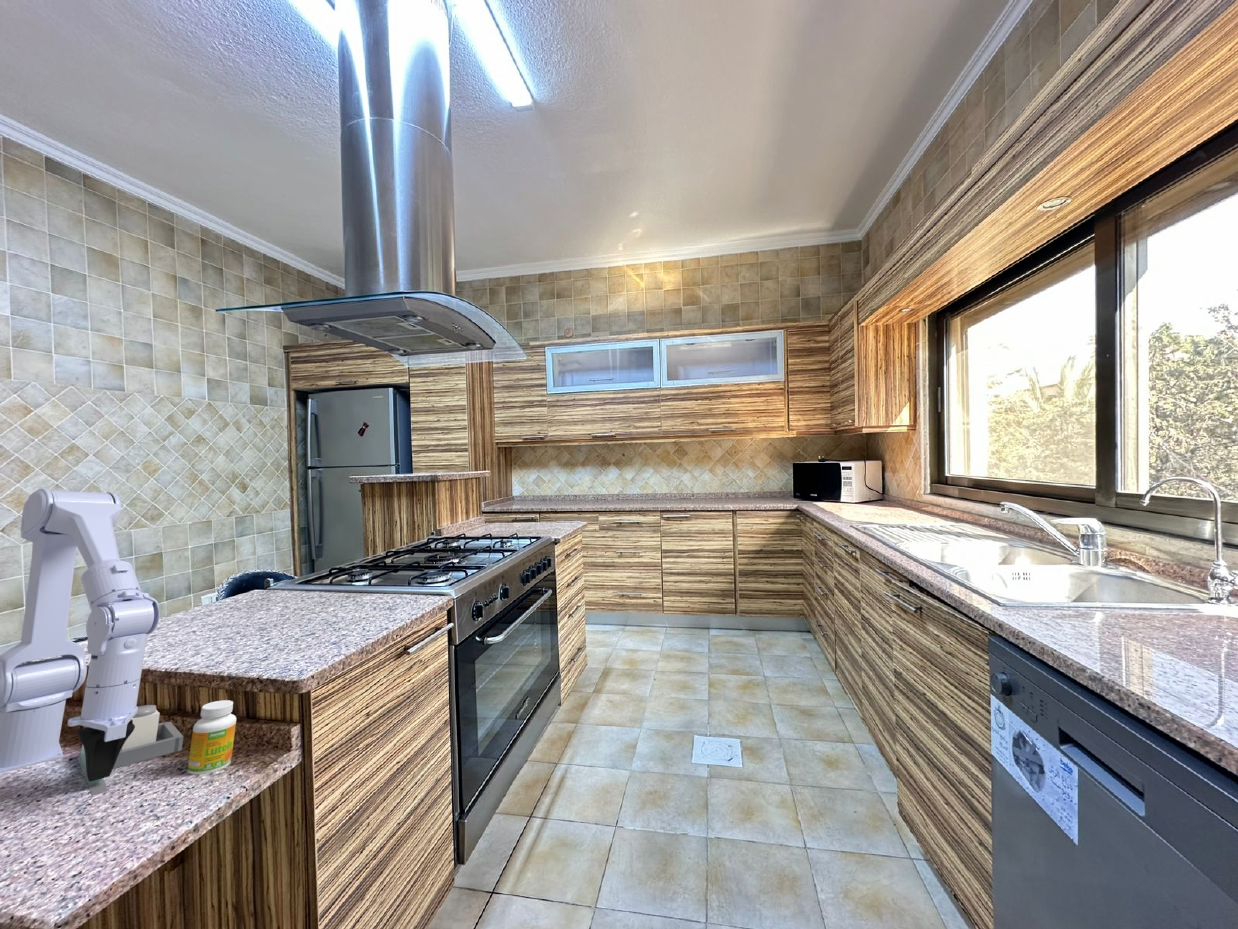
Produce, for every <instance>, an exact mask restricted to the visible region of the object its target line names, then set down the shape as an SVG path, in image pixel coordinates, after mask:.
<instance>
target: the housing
mask: <svg viewBox="0 0 1238 929" xmlns="http://www.w3.org/2000/svg"><path fill="white" fill-rule="evenodd" d="M183 743H184V735H183V734H182V733H181V732H180V731H179V729H177V728H176V726H175V725H174V724H173V723H172V722H171V721H170V722H167V721H163V722H158V729H157V736H156V742H152V743H148V744H144V745H140V746H136V747H132V748H128V749H124V750H121V751H120V753H119V755H118V757H117V760H116V762H115V765H114V767H113V770H115V769H119V768H122V767H126V766H130V765H134V764H138V763H140V762H144V761H145V762H146V761H149V760H152V759H156V758H159V757H162V756H166V755H170V754H174V753H177V752H182V750H183ZM77 761H78V763H79V765H80V768H81V771H82V773H83V776H84V778H85V779H84V780H85V781H86V784H87V786H88V788H89V791H90V794H91V796H92V797H93V796H96V795H99V794H102V793H103V794H104V793H107V792H109V788H108V786H107V784H106V782H105V780H104V779H105V778H102V781H101V782H100V783H96V784H93V785H91V782H89V780H88V777H87V773H86V770H85V768H84V765H83V763H82V760H81V758H80V756H79V757H77Z"/></svg>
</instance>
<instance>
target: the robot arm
mask: <svg viewBox="0 0 1238 929" xmlns="http://www.w3.org/2000/svg"><path fill="white" fill-rule="evenodd" d="M22 507H23V508H22V516H21V523H20V538H21V539H23V540H26V541H29V542H32V546H31V547H32V551H31V559H30V560H31V561H30V567H29V577H28V585H27V591H26V600H25V608H24V613H23V614H24V616H23V623H22V631H21V638H20V642H19V643H18V644H16V645H15V646H12V648H10V649H8V650H7V651H5V652H3V653H2V654H0V774H3V773H6V772H11V771H14V770H19V769H23V768H26V767H31V766H35V765H39V764H44V763H48V762H51V761H55V760H59V759H63V757H64V754H63V750H62V747H61V745H60V736H61V731H62V724H63V720H64V713H65V709H66V708H65V707H66V702H67V699H71V698H72V697H73V694H74V692H76V691H78V690H79V689H80V687H81V686H83V684H84V683H85V681H86V683H85V689H84V696H83V700H82V709H81V714H80V715H79V716H75V717H70V718H68V720H67V726H68V727H76V726H82V727H84V728H81V729H78V730H77V731H76V734H77V737H78V739H79V741H80V742H81V744H83V746H84V751H85V759H86V772H87V777H88V780H89V782H91V781H95V780H99V779H102V778H103V779H105V778H106V779H107V778H109V777H110V775H111V774H112V772H113V770H114V769H113V767H114V765H115V762H116V760H117V757H118V755H119V753H120V750H121V748H122V746H123V745H124V743H125V741H126V740H127V739H128V737H129V736H130V735H131V733H132V732H133V730H134V728H135V725H134V724H133V720H132V718H133V717H134V716H135V714H136V713H137V710H138V707H139V706H137V704H138V698H139V691H140V683H141V677H142V671H143V664H144V658H145V651H146V646H147V645H146V644H147V638H148V635H151V634H152V633H154V631H155V630H156V629H157V626H158V625H159V621H160V617H161V616H160V606H159V602H158V601H157V600H156V599H155V598H154V597H152V596H150V595H149V593H147V592H143V591H142V588H141V586H140V583H139V581H138V577H137V574H136V572H135V569H134V567H133V565H132V564H131V563H130V562H128V561H124V560H121V559H120V553H119V549H118V543H117V539H116V536H115V535H116V534H115V530H114V528H115V526H116V524H117V522H118V520H119V518H120V515H121V512H122V502H121V499H120V498H119V496H118V494H116V493H115V492H109V491H108V492H98V491H97V492H96V491H95V492H93V491H75V490H73V491H72V490H60V489H59V490H58V489H48V488H39V489H36V490H35V491H33V492H31V494H30V495H29V496H28V498H27V500H26V501H25V502H24V505H23V506H22ZM77 550H78V551H79V553H80V555H81V557H82V559H83V560H84V562H85V565H86V566H87V569H86V570H85V571H84V572H83V574H81V577H80V581H81V584H82V588H83V589H84V593H85V595H86V598H87V603H88V605H89V608H90V611H91V612H90V613H89V614H88V618H87V620H86V622H85V634H86V636H87V646H86V650H87V654H90V660H89V666H87V663H86V659H85V655H86V654H85V652H86V651H85V647H84V646H82V645H81V644H79V643H77V642H74V641H72V640H70V639H67V635H68V634H67V633H68V628H69V627H68V624H69V615H70V608H71V600H72V589H73V581H74V573H75V562H76V555H77ZM60 656H61V657H60ZM55 657H56V658H55ZM49 658H50V659H49ZM43 659H44V660H43ZM37 660H39V661H37ZM31 661H32V662H31ZM87 671H88V673H87ZM86 678H87V679H86Z"/></svg>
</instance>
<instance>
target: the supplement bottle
mask: <svg viewBox="0 0 1238 929" xmlns="http://www.w3.org/2000/svg"><path fill="white" fill-rule="evenodd" d="M233 709H234V701H233V700H228V699H224V700H216V701H211V702H208V703H206V704H203V706H202V707H201V711H200V719H198V720H197V721H196V722H195V723H194V725H193V728H192V735H191V743H190V751H189V756H188V764H187V773H188V774H189V775H194V776H195V775H197V776H198V775H207V774H210V773H214V772H217V771H220V770H222V769H224V768H226V767H228V766H229V765H230V764H231V762H232V756H233V749H234V742H235V735H236V734H235V733H236V725H237V716H236V715H234V714H232V712H233Z"/></svg>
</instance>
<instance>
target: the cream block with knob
mask: <svg viewBox="0 0 1238 929" xmlns="http://www.w3.org/2000/svg"><path fill="white" fill-rule="evenodd" d="M137 707H138V710H137V713H136V714H135V716H134V717H133V718H132V720H133V724H134V725H135V728H134V730H133V732H132V733H131V735H130V736H129V737H128V739H127V740H126V741H125V743H124V745H123V746H122V748H121V750H124V749H128V748H132V747H136V746H140V745H144V744H148V743H152V742H156V736H157V729H158V724H159V723H160V722H159V721H160V716H161V715H160V714H161V713H160V712H159V711H158V710H157V705H155V704H146V705H145V704H144V705H139V706H137ZM121 750H120V751H121Z"/></svg>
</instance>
